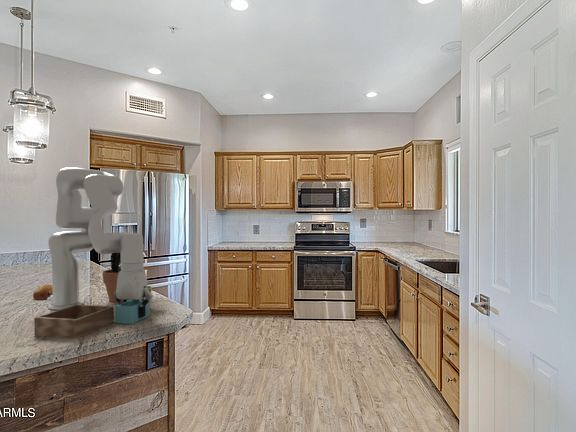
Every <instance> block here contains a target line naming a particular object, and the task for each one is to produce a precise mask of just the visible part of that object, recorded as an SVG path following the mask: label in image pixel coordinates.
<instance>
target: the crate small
mask: <svg viewBox="0 0 576 432" xmlns="http://www.w3.org/2000/svg"><path fill="white" fill-rule="evenodd" d="M150 301H151V300H150ZM150 301H149V302H148V303H147V305H146V314H145V316H144V317H142V318H138V307H140V306H139V303H138V301H137V300H128V301H127V302H124V303H122V304H119V303H118V304H116V305H114V307H115V311H114V315H115V316H114V320H115V321H114V322H115V324H127V325H133V324H135V323H137V322H139V321H141V320H143V319H145V318H148V317H149V316H151V314H150V313H151V309H150V306H151V304H150V303H151V302H150Z"/></svg>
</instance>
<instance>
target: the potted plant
mask: <svg viewBox="0 0 576 432" xmlns="http://www.w3.org/2000/svg"><path fill="white" fill-rule="evenodd" d="M119 264H121V252H120V253H111V255H110V268H111V269H106V270H103V271H102V282H103V284H105V288H106V293H107V298H108V301H110V302H113V303H115V302H117V301H116V299H115V298H114V296H113V294H114V293H115V292H116V289H117V278H118V274H119V272H120V271H121V268H120V267H119ZM117 303H118V302H117Z"/></svg>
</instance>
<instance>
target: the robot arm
mask: <svg viewBox="0 0 576 432" xmlns="http://www.w3.org/2000/svg"><path fill="white" fill-rule="evenodd" d="M55 182H56V183H55V185H56V190H57V204H56V211H55V224H56V226H57V227H58V228H59V229H63V230H68V231H58V232H55V233H53V234H51V235H50V237H49V238H48V243H47V244H48V248H49V251H50V252H49V253H50V259H51V276H52V277H51V279H52V280H51V281H52V283H51V285H52V288H53V296H50V297H49V298H47V299H46V301H47V302H50V304H48V308H47V309H49V310H53V311H57V310H60V309H64V308H67V307H70V306H73V305H85V304H84V300H82V299H80V269H79V267H80V266H79V262H78V260H77V258H76V257H75V256H74V254H77V253H86V252H90V251H92V250H93V249H94V250H95V252H96V253H98V254H101V255H110V254H112V253H120V252H121V264H119V267H120V268H121V271H120V272H119V274H118V278H117V289H116V292H115V293H114V294H113V296H114V298H115V299H116V301H117V303H118V305H119V304H122V303H124V302H127V301H130V300H137V301H138V303H139V306H140V307H138V318H142V317H144V316H145V314H146V305H147V303H148V302H149V301H151V300H152V299H153V297H154V295H153V294H152V292H151V293H150V292H149V291H148V288H147V286H148V279H147V273H146V271H145V270H144V236H143V234H142V233H139V232H138V233H137V232H134V233H133V232H132V233H131V232H128V231H127V232H126V231H121V232H120V231H119V232H104V230H103V227H102V223H101V222H102V220H104V219H106V218H108V217H110V216H112V215H114V214H115V213H116V212H117V211H118V208H119V207H118V204H117V201H116V200H115V199H116V198H115V197H119V196H121V195H122V194H123V192H124V184H123V181H122V179H121V178H119V177H118V176H117V175H114V174H111V173H109V172H106V171H104V170H98V169H89V168H82V167H64V168H61V169H60V170H59V171H58V172H57V174H56V178H55ZM80 190H84V191H85V194H86V196H87V199H88V201H89V204H90V206H82V202H83V196H82V193H81V192H80ZM75 229H77V230H75ZM78 229H80V230H78ZM69 230H70V231H69ZM145 297H147V298H146V299H145Z"/></svg>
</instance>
